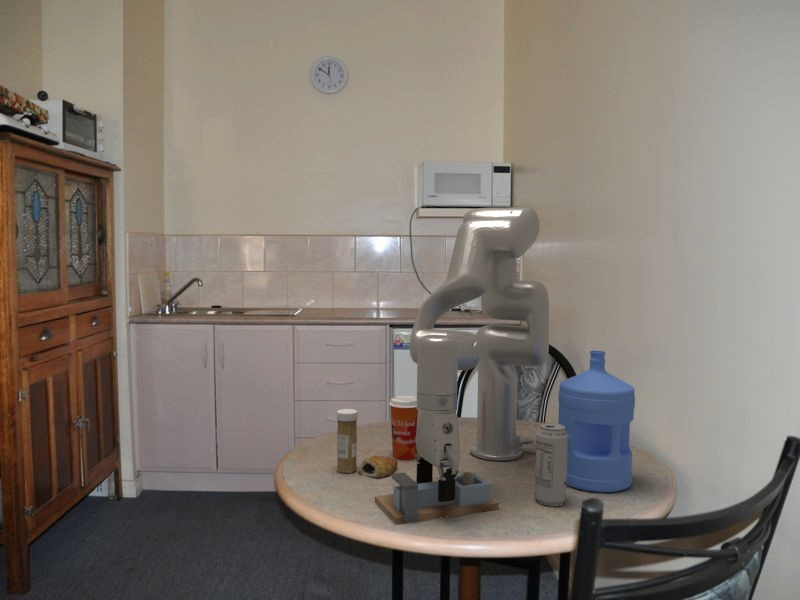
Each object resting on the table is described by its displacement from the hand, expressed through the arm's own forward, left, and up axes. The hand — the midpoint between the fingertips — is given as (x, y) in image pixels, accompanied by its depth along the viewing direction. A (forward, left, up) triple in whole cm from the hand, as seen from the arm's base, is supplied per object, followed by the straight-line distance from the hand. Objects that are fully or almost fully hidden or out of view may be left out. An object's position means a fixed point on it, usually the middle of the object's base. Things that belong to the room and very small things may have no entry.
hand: (435, 491), depth 120 cm
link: (-1, 0, -2) cm, 3 cm away
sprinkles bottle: (+9, -27, -4) cm, 29 cm away
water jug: (-39, -3, -4) cm, 39 cm away
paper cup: (-7, -32, -4) cm, 33 cm away
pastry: (+3, -24, -4) cm, 24 cm away
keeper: (+6, 0, -3) cm, 7 cm away
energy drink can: (-23, +4, -4) cm, 24 cm away
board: (-1, -2, -3) cm, 4 cm away
